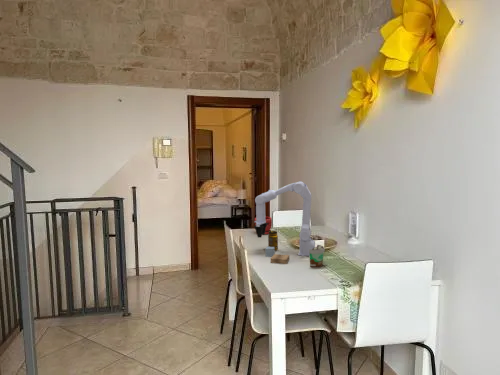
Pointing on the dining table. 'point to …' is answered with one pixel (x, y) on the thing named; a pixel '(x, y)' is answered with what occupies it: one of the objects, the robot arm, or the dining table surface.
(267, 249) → the block
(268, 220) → the plant pot
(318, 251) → the food container
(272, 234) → the condiment
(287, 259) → the base
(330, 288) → the dining table surface
